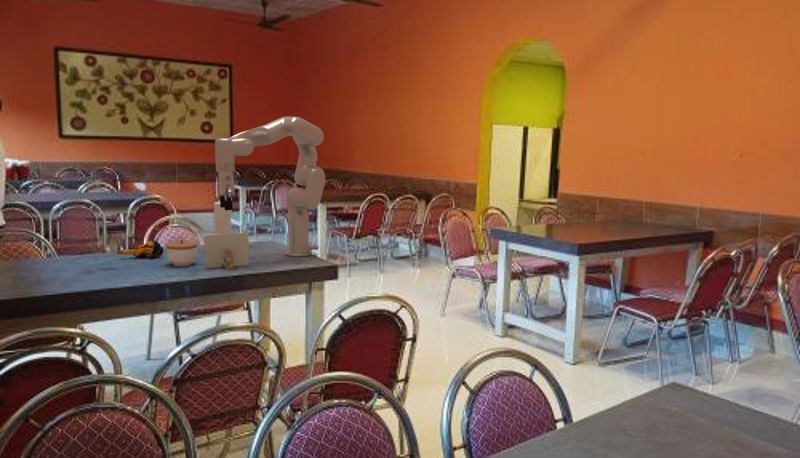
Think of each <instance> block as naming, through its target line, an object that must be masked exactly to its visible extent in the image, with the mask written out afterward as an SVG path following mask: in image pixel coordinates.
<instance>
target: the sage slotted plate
mask: <svg viewBox="0 0 800 458" xmlns="http://www.w3.org/2000/svg"><path fill="white" fill-rule="evenodd" d="M203 237H204V243H203V244H204V268H205V269H212V268H213V269H215V268H222V267H223V264H222V258H225V249H231V250H232V251H233V267H241V266H242V267H243V266H249V265H250V255H249V253H250V250H249V249H250V248H249V246H250V245H249V241H250V240H249V237H250V236H249V233H248V232H234V233H232V232H231V233H228V234H215V233H212V234H203Z"/></svg>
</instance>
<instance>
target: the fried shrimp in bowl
mask: <svg viewBox="0 0 800 458" xmlns="http://www.w3.org/2000/svg"><path fill="white" fill-rule="evenodd" d="M163 254H164V247H163V246H162V245H161V244H160V243H159V242H158V241H156V240H155V239H154V238H152V239H150V240H149V241H147V242H146V243H141V244H140V245H137V246H135V247H134V248H132V249H122V250H121V249H120V250H117V251H116V255H133V256H134V257H135V258H136V259H140V260H143V259H147V258H149V259H155V257H156V258H157V257H161V256H162V255H163Z"/></svg>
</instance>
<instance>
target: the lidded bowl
mask: <svg viewBox="0 0 800 458" xmlns="http://www.w3.org/2000/svg"><path fill="white" fill-rule="evenodd" d="M165 247H166V255H167V259H168V260H169V262H170V263H171V264H173V267H189V266H191V265H192V264H193V263H194V262H195V260H196V258H197V255H198V243H197V242H195V241H189V240H187V241H184V239H182V238H181V239H179V241H173V242H172V241H171V242H168V243H166V245H165Z"/></svg>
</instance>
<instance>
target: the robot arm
mask: <svg viewBox="0 0 800 458" xmlns="http://www.w3.org/2000/svg"><path fill="white" fill-rule="evenodd" d="M291 136H292V139H293V141H294V144H296V146H297V148H298V152H299V153H298V154H299V155H298V160H297V165H296V168H295V172H294V177H293V178H294V182H295V183H296V184H297V185H300V186H303V187H305V188H303V187H293V188H291V189H289V190H288V191H287V192H286V196H285V202H286V207H287V217H288V218H287V220H288V221H287V223H288V224H287V226H288V227H287V228H288V229H287V236H288V237H287V238H288V240H287V244H288V245H287V246H288V247H287V248H288V249H287V250H286V251H285V252H284V254H285V256H288V257H297V258H298V257H300V258H301V257H309V256H311V255H312V254H313V252H312V251H317V250H319V245H311V244H310V243H309V236H310V235H309V234H310V233H309V231H310V230H309V228H310V226H309V225H310V224H309V222H310V221H309V220H310V217H309V212H308V211H314V210H316V209H317V208H318V207H319V205H320V203H321V200H322V195H323V191H324V188H325V185H326V184H325V183H326V173H325V171H324V170H323V168H322V167H319V166H317V162H318V152H317V148H316V147H317V146H319V145H321V144H322V143H324V138H325V137H324V136H325V134H324V132H323V131H322V129H321V128H320V127H319V126H316V125H314V124H313V123H311V122H309V121H308V120H306V119H304V118H301V117H299V116H282V117H279V118H277V119H275V120H273V121H271V122H270V121H269V122H268V123H267V124H263V125H262V126H257V127H254V128H252V129H248V130H245V131H242V132H239V133H237V134H234V135H232V136H230V137H227V138H226V137H224V138H223V137H221V138H218V137H217V138H216V139H215V141H214V145H215V147H214V148H215V151H214V153H215V154H214V155H215V172H217V173H218V193H219V202H220V207H221V208H223V207H225V210H231V211H233V208H234V207H233V204H234V203H233V196H235V194H236V193H235V180H234V179H235V177H234V172H235V171H236V170H235V166H236V165H235V156H239V157H241V156H242V157H243V156H244V157H247V156H249V155H251V154H252V153H253V152H254V148H255V147H261V146H262V147H263V146H268V145H271V144H273V143H275V142H277V141H280V140H282V139H284V138H286V137H291Z"/></svg>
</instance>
